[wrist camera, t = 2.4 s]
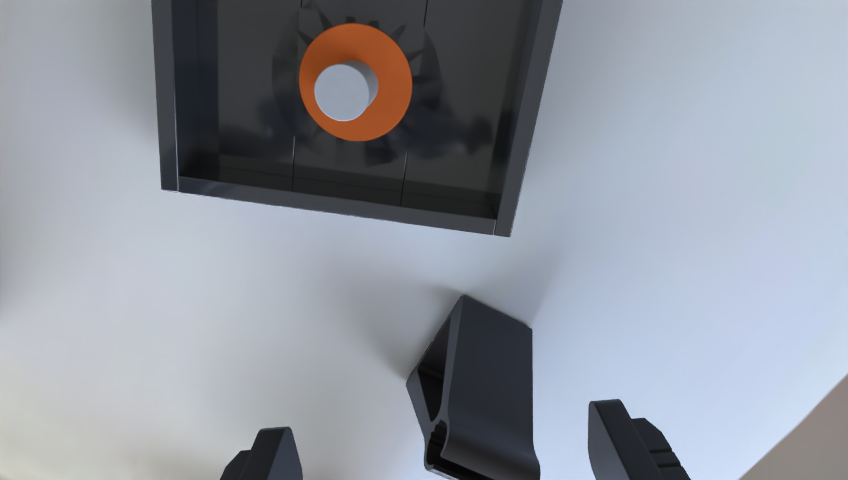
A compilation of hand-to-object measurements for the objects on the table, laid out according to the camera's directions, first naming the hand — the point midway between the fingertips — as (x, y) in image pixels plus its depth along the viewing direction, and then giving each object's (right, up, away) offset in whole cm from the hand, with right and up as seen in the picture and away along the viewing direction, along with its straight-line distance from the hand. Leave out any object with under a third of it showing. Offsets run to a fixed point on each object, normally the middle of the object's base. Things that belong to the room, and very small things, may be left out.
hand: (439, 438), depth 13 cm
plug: (-4, +15, +17) cm, 24 cm away
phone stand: (+3, -4, +25) cm, 26 cm away
